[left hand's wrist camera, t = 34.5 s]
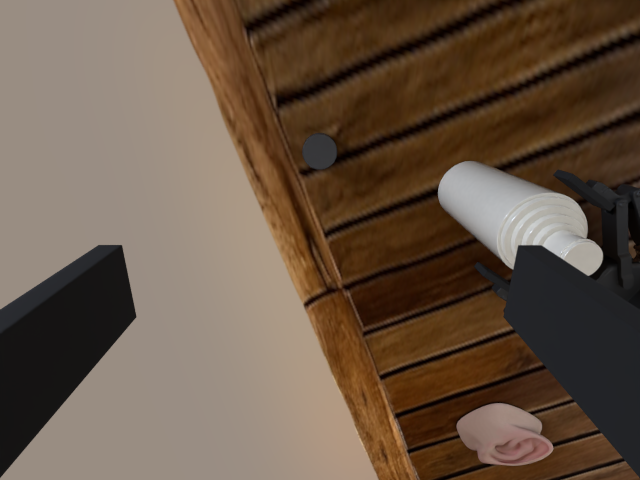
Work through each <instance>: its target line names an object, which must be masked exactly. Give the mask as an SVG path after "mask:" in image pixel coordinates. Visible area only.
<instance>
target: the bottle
mask: <svg viewBox="0 0 640 480" xmlns="http://www.w3.org/2000/svg"><path fill="white" fill-rule="evenodd" d="M438 197H439V201H440V204H441V206H442V207H443V209H444V210H445V211H446V212H447V213H448V214H449V215H451V216H452V217H453V218H454V219H455V220H456V221H457V222H458V223H460V224H461V225H462V226H463V227H464V228H465V229H466V230H467V231H469V232H470V233H471V234H472V235H473V236H474V237H475V238H477V239H478V240H479V241H480V242H481V243H482V244H483V245H484V246H486V247H487V248H488V249H489V250H490V251H491V252H492V253H494V254H495V255H496V256H497V257H498V258H499V259H500V260H501V261H503V262H504V263H505V264H506V265H507V266H508V267H510V268H511V269H513V268H514V263H515V258H516V253H517V248H518V245H542V246H543V247H545V248H546V249H548V250H549V251H551V252H552V253H554V254H556V255H557V256H559V257H560V258H562V259H563V260H565V261H566V262H568V263H569V264H571V265H572V266H574V267H575V268H577V269H578V270H580V271H581V272H583V273H585V274H586V275H588V276H589V275H591V274H593V273H594V272H595V271H596V270H597V269H598V268H599V267H600V265H601V263H602V260H603V252H602V250H601V248H600V247H599V246H598V245H597V244H596V243H595V242H593V241H592V240H589V239H586V237H587V232H588V225H587V220H586V217H585V215H584V213H583V211H582V210H581V208H580V206H579V205H578V204H577V203H576V202H575V201H574V200H573V199H571V198H570V197H568V196H565V195H563V194H560V193H558V192H555V191H553V190H550V189H548V188H545V187H542V186H540V185H537V184H535V183H532V182H530V181H527V180H524V179H522V178H519V177H517V176H514V175H512V174H509V173H506V172H504V171H501V170H499V169H496V168H493V167H491V166H488V165H486V164H483V163H480V162H477V161H466V162H462V163H459V164H457V165H455V166H454V167H452V168H451V169H450V170H449V171H448V172H447V173H446V174H445V175H444V177H443V178H442V180H441V182H440V185H439V189H438Z"/></svg>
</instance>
